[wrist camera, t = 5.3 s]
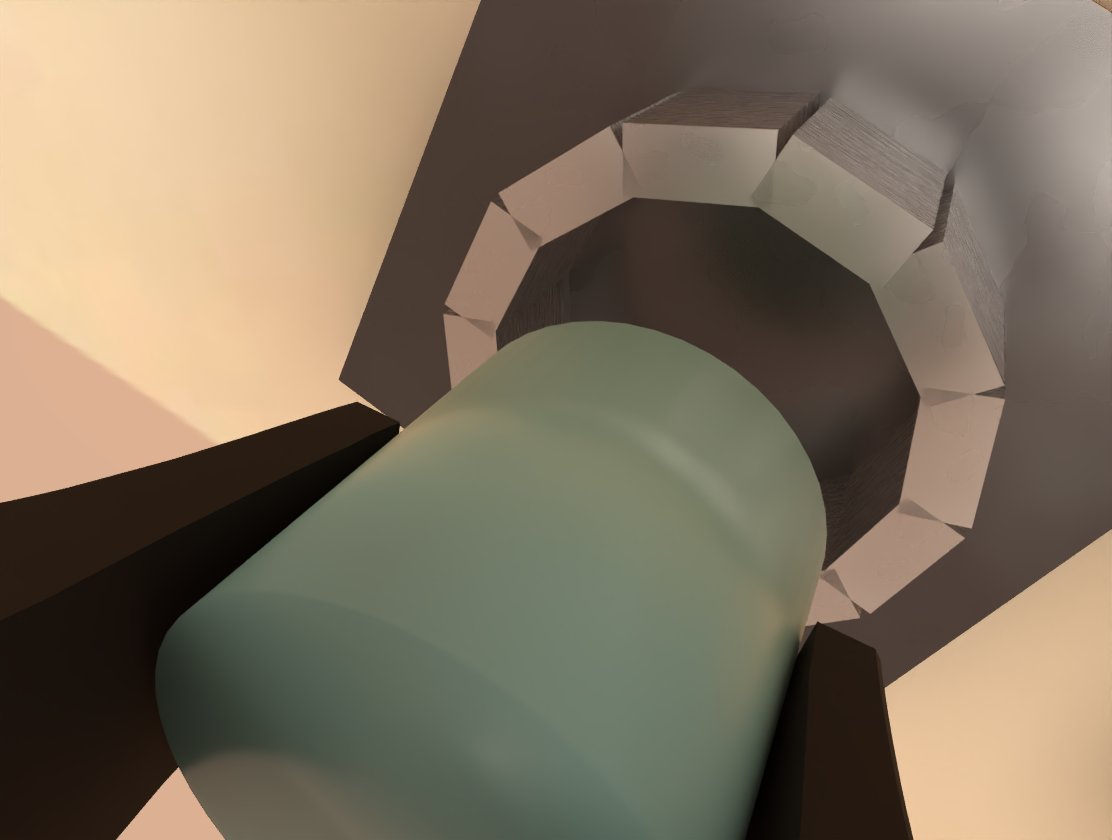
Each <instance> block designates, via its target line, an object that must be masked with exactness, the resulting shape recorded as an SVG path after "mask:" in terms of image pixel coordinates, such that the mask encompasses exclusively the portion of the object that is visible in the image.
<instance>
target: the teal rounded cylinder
mask: <svg viewBox="0 0 1112 840" xmlns="http://www.w3.org/2000/svg"><path fill="white" fill-rule="evenodd" d="M826 539H827V526H826V512H825V506H824V502H823V497H822V493H821V489H820V484H819V482H818V479H817V477H816V474H815V471H814V469H813V466H812V464H811V461H810V459H809V457H808V455H807V453H806V452H805V450H804V448H803V446H802V444H801V443H800V441H799V439H798V437H797V436H796V434H795V433H794V431H793V430H792V429H791V427H790V426H789V424H788V423H787V422H786V420H785V419H784V418H783V416H782V415H781V414H780V412H779V411H778V410H777V409H776V408H775V407H774V406H773V405H772V404H771V403H770V401H769V400H768V399H767V398H766V397H765V396H764V395H763V394H762V393H761V392H760V391H759V390H758V389H757V388H756V387H755V386H753V385H752V384H751V383H750V382H749V381H747V380H746V379H745V378H744V377H743V376H741V375H740V374H739V373H738V372H737V371H735V370H734V369H733V368H731V367H729V366H728V365H726V364H725V363H723V362H722V361H720V360H719V359H717V358H716V357H714V356H713V355H711V354H709V353H708V352H706V351H704V350H702V349H700V348H698V347H696V346H694V345H691V344H689V343H687V342H685V341H683V340H681V339H678V338H676V337H673V336H670V335H667V334H664V333H662V332H659V331H656V330H653V329H648V328H644V327H639V326H635V325H631V324H626V323H615V322H605V321H584V322H570V323H564V324H559V325H553V326H548V327H545V328H542V329H540V330H537V331H534V332H531V333H528V334H526V335H524V336H522V337H520V338H518V339H516V340H514V341H512V342H510V343H508V344H507V345H506V346H504V347H503V348H502V349H500V350H499V351H498V352H496V353H495V354H494V355H492V356H491V357H490V358H489V359H487V360H486V361H485V362H484V363H483V364H481V365H480V366H479V367H478V368H477V369H475V370H474V371H473V372H472V373H471V374H469V375H468V376H467V377H466V378H465V379H464V380H462V381H461V382H460V383H459V384H458V385H456V386H455V387H454V388H453V389H452V390H450V391H449V392H448V393H447V394H446V395H444V396H443V397H442V398H441V399H440V400H438V401H437V402H436V403H435V404H434V405H432V406H431V407H430V408H429V409H428V410H426V411H425V412H424V413H423V414H422V415H420V416H419V417H418V418H417V419H416V420H414V421H413V422H412V423H411V424H410V425H408V426H407V427H406V428H405V429H404V430H402V431H401V432H400V433H399V434H398V435H397V436H395V437H394V438H393V439H392V440H391V441H389V442H388V443H387V444H386V445H385V446H383V447H382V448H381V449H380V450H379V451H377V452H376V453H375V454H374V455H373V456H371V457H370V458H369V459H368V460H367V461H365V462H364V463H363V464H362V465H361V466H359V467H358V468H357V469H356V470H355V471H353V472H352V473H351V474H350V475H349V476H347V477H346V478H345V479H344V480H343V481H341V482H340V483H339V484H338V485H337V486H335V487H334V488H333V489H332V490H331V491H329V492H328V493H327V494H326V495H325V496H324V497H322V498H321V499H320V500H319V501H318V502H316V503H315V504H314V505H313V506H312V507H310V508H309V509H308V510H307V511H306V512H304V513H303V514H302V515H301V516H300V517H298V518H297V519H296V520H295V521H294V522H292V523H291V524H290V525H289V526H288V527H286V528H285V529H284V530H283V531H282V532H280V533H279V534H278V535H277V536H276V537H274V538H273V539H272V540H271V541H270V542H268V543H267V544H266V545H265V546H264V547H262V548H261V549H260V550H259V551H258V552H257V553H255V554H254V555H253V556H252V557H251V558H249V559H248V560H247V561H246V562H245V563H243V564H242V565H241V566H240V567H239V568H237V569H236V570H235V571H234V572H233V573H231V574H230V575H229V576H228V577H227V578H225V579H224V580H223V581H222V582H221V583H219V584H218V585H217V586H216V587H215V588H213V589H212V590H211V591H210V592H209V593H207V594H206V595H205V596H204V597H203V598H201V599H200V600H199V601H198V602H197V603H195V604H194V605H193V606H192V607H191V608H189V609H188V610H187V611H186V612H185V613H184V614H182V615H181V616H180V617H179V618H178V619H177V621H176V622H175V623H174V624H173V625H172V627H171V628H170V629H169V630H168V632H167V633H166V635H165V638H164V640H163V642H162V645H161V647H160V649H159V652H158V658H157V663H156V669H155V693H156V699H157V704H158V710H159V716H160V719H161V722H162V726H163V729H164V732H165V735H166V738H167V741H168V744H169V746H170V748H171V751H172V753H173V755H174V758H175V760H176V762H177V765H178V766H179V768H180V770H181V772H182V774H183V776H184V777H185V779H186V781H187V783H188V785H189V787H190V789H191V790H192V792H193V794H194V795H195V797H196V798H197V800H198V801H199V803H200V804H201V806H202V808H203V809H204V811H205V812H206V814H207V815H208V817H209V818H210V819H211V821H212V822H213V824H214V825H215V826H216V828H217V829H218V830H219V832H220V833H221V834H222V836H223V837H224V838H225V840H745V838H746V834H747V831H748V827H749V824H750V820H751V817H752V813H753V810H754V806H755V802H756V799H757V795H758V792H759V788H760V785H761V781H762V778H763V774H764V771H765V767H766V764H767V760H768V757H769V753H770V750H771V746H772V742H773V739H774V735H775V732H776V728H777V725H778V721H779V717H780V714H781V710H782V707H783V703H784V700H785V696H786V693H787V689H788V686H789V682H790V679H791V675H792V672H793V668H794V665H795V661H796V657H797V654H798V651H799V647H800V644H801V640H802V637H803V633H804V629H805V626H806V622H807V619H808V615H809V612H810V608H811V605H812V601H813V598H814V594H815V591H816V587H817V584H818V580H819V576H820V573H821V569H822V565H823V562H824V558H825V550H826Z"/></svg>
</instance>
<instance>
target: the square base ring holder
mask: <svg viewBox="0 0 1112 840" xmlns="http://www.w3.org/2000/svg"><path fill="white" fill-rule="evenodd" d="M584 321H605V322H615V323H626V324H631V325H635V326H639V327H644V328H648V329H653V330H656V331H659V332H662V333H664V334H667V335H670V336H673V337H676V338H678V339H681V340H683V341H685V342H687V343H689V344H691V345H694V346H696V347H698V348H700V349H702V350H704V351H706V352H708V353H709V354H711V355H713V356H714V357H716V358H717V359H719V360H720V361H722V362H723V363H725V364H726V365H728V366H729V367H731V368H733V369H734V370H735V371H737V372H738V373H739V374H740V375H741V376H743V377H744V378H745V379H746V380H747V381H749V382H750V383H751V384H752V385H753V386H755V387H756V388H757V389H758V390H759V391H760V392H761V393H762V394H763V395H764V396H765V397H766V398H767V399H768V400H769V401H770V403H771V404H772V405H773V406H774V407H775V408H776V409H777V410H778V411H779V412H780V414H781V415H782V416H783V418H784V419H785V420H786V422H787V423H788V424H789V426H790V427H791V429H792V430H793V431H794V433H795V434H796V436H797V437H798V439H799V441H800V443H801V444H802V446H803V448H804V450H805V452H806V453H807V455H808V457H809V459H810V461H811V464H812V466H813V469H814V471H815V474H816V477H817V479H818V482H819V484H820V489H821V493H822V497H823V502H824V506H825V512H826V526H827V539H826V550H825V558H824V562H823V565H822V569H821V573H820V576H819V580H818V584H817V587H816V591H815V594H814V598H813V601H812V605H811V608H810V612H809V615H808V619H807V622H806V626H805V629H804V633H803V637H802V640H801V644H800V647H799V651H798V653H799V652H800V650H801V648H802V647H803V645H804V643H805V641H806V640H807V638H808V636H809V635H810V633H811V631H812V630H813V628H814V626H815V624H816V623H817V621H818V622H820V623H822V624H824V625H826V626H829V627H831V628H833V629H835V630H837V631H839V632H841V633H843V634H845V635H847V636H849V637H852V638H854V639H856V640H858V641H860V642H862V643H864V644H866V645H868V646H870V647H873V648H875V649H876V651H877V653H878V656H879V658H880V660H881V666H882V675H883V682H884V688H885V687H887V686H888V685H890V684H891V683H892V682H894V681H895V680H897V679H898V678H899V677H901V676H902V675H904V674H905V673H907V672H908V671H909V670H911V669H912V668H914V667H915V666H917V665H918V664H919V663H921V662H922V661H924V660H925V659H927V658H928V657H929V656H931V655H932V654H934V653H935V652H937V651H938V650H939V649H941V648H942V647H944V646H945V645H947V644H948V643H949V642H951V641H952V640H954V639H955V638H957V637H958V636H959V635H961V634H962V633H964V632H965V631H967V630H968V629H969V628H971V627H972V626H974V625H975V624H977V623H978V622H979V621H981V620H982V619H984V618H985V617H987V616H988V615H989V614H991V613H992V612H994V611H995V610H996V609H998V608H999V607H1001V606H1002V605H1004V604H1005V603H1006V602H1008V601H1009V600H1011V599H1012V598H1014V597H1015V596H1016V595H1018V594H1019V593H1021V592H1022V591H1024V590H1025V589H1026V588H1028V587H1029V586H1031V585H1032V584H1034V583H1035V582H1036V581H1038V580H1039V579H1041V578H1042V577H1044V576H1045V575H1046V574H1048V573H1049V572H1051V571H1052V570H1054V569H1055V568H1056V567H1058V566H1059V565H1061V564H1062V563H1064V562H1065V561H1066V560H1068V559H1069V558H1071V557H1072V556H1074V555H1075V554H1076V553H1078V552H1079V551H1081V550H1082V549H1084V548H1085V547H1086V546H1088V545H1089V544H1091V543H1092V542H1093V541H1095V540H1096V539H1098V538H1099V537H1101V536H1102V535H1103V534H1105V533H1106V532H1108V531H1109V530H1111V529H1112V12H1111V11H1109V10H1108V9H1106V8H1105V7H1103V6H1101V5H1100V4H1098V3H1097V2H1095V1H1094V0H481V2H480V4H479V7H478V10H477V12H476V15H475V18H474V20H473V23H472V26H471V28H470V31H469V34H468V36H467V39H466V42H465V44H464V47H463V50H462V52H461V55H460V58H459V60H458V63H457V66H456V68H455V71H454V74H453V76H452V79H451V82H450V84H449V87H448V90H447V92H446V95H445V98H444V100H443V103H442V106H441V108H440V111H439V114H438V116H437V119H436V122H435V124H434V127H433V130H432V132H431V135H430V138H429V140H428V143H427V146H426V148H425V151H424V154H423V156H422V159H421V162H420V164H419V167H418V170H417V172H416V175H415V177H414V180H413V183H412V185H411V188H410V191H409V193H408V196H407V199H406V201H405V204H404V207H403V209H402V212H401V215H400V217H399V220H398V223H397V225H396V228H395V231H394V233H393V236H392V239H391V241H390V244H389V247H388V249H387V252H386V255H385V257H384V260H383V263H382V265H381V268H380V271H379V273H378V276H377V279H376V281H375V284H374V287H373V289H372V292H371V295H370V297H369V300H368V303H367V305H366V308H365V311H364V313H363V316H362V319H361V321H360V324H359V327H358V329H357V332H356V335H355V337H354V340H353V343H352V345H351V348H350V351H349V353H348V356H347V359H346V361H345V364H344V367H343V369H342V372H341V375H340V377H339V380H340V381H341V382H342V383H344V384H345V385H346V386H348V387H349V388H350V389H352V390H353V391H354V392H356V393H357V394H358V395H360V396H361V397H362V398H364V399H365V400H366V401H368V402H369V403H370V404H372V405H373V406H374V407H376V408H377V409H379V410H380V411H381V412H383V413H384V414H385V415H387V416H388V417H390V418H392V419H394V420H396V421H398V422H400V426H401V427H403V428H404V429H405V428H406V427H407V426H408V425H410V424H411V423H412V422H413V421H414V420H416V419H417V418H418V417H419V416H420V415H422V414H423V413H424V412H425V411H426V410H428V409H429V408H430V407H431V406H432V405H434V404H435V403H436V402H437V401H438V400H440V399H441V398H442V397H443V396H444V395H446V394H447V393H448V392H449V391H450V390H452V389H453V388H454V387H455V386H456V385H458V384H459V383H460V382H461V381H462V380H464V379H465V378H466V377H467V376H468V375H469V374H471V373H472V372H473V371H474V370H475V369H477V368H478V367H479V366H480V365H481V364H483V363H484V362H485V361H486V360H487V359H489V358H490V357H491V356H492V355H494V354H495V353H496V352H498V351H499V350H500V349H502V348H503V347H504V346H506V345H507V344H508V343H510V342H512V341H514V340H516V339H518V338H520V337H522V336H524V335H526V334H528V333H531V332H534V331H537V330H540V329H542V328H545V327H548V326H553V325H559V324H564V323H570V322H584ZM797 655H798V654H797Z"/></svg>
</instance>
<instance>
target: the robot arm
mask: <svg viewBox="0 0 1112 840" xmlns="http://www.w3.org/2000/svg"><path fill="white" fill-rule="evenodd" d="M399 428H400V422H398V421H396V420H394V419H392V418H390V417H388V416H386V415H384V414H382V413H380V412H378V411H375V410H373V409H371V408H369V407H367V406H365V405H363V404H361V403H359V402H355V403H351V404H348V405H344V406H340V407H337V408H334V409H330V410H327V411H324V412H321V413H318V414H314V415H311V416H308V417H305V418H302V419H299V420H296V421H293V422H290V423H286V424H283V425H280V426H277V427H274V428H271V429H268V430H265V431H262V432H259V433H256V434H253V435H249V436H246V437H243V438H240V439H237V440H233V441H230V442H227V443H224V444H221V445H217V446H214V447H211V448H208V449H205V450H201V451H198V452H195V453H192V454H189V455H185V456H182V457H179V458H176V459H172V460H169V461H165V462H161V463H158V464H154V465H150V466H147V467H143V468H139V469H136V470H132V471H128V472H124V473H121V474H117V475H114V476H110V477H106V478H102V479H99V480H95V481H91V482H88V483H84V484H80V485H76V486H73V487H69V488H65V489H60V490H56V491H52V492H48V493H44V494H40V495H35V496H30V497H26V498H22V499H17V500H12V501H7V502H2V503H0V840H116V839H117V838H118V836H119V835H120V834H121V833H122V832H123V831H124V829H125V828H126V827H127V826H128V825H129V824H130V822H131V821H132V820H133V819H134V818H135V816H136V815H137V814H138V813H139V812H140V810H141V809H142V808H143V807H144V806H145V805H146V803H147V802H148V801H149V800H150V799H151V797H152V796H153V795H154V794H155V793H156V792H157V790H158V789H159V788H160V787H161V786H162V784H163V783H164V782H165V781H166V780H167V779H168V778H169V777H170V776H171V775H172V773H173V772H174V771H175V770H176V769H177V768H178V767H179V766H178V765H177V762H176V760H175V758H174V755H173V753H172V751H171V748H170V746H169V744H168V741H167V738H166V735H165V732H164V729H163V726H162V722H161V719H160V716H159V710H158V704H157V699H156V693H155V669H156V663H157V658H158V652H159V649H160V647H161V645H162V642H163V640H164V638H165V635H166V633H167V632H168V630H169V629H170V628H171V627H172V625H173V624H174V623H175V622H176V621H177V619H178V618H179V617H180V616H181V615H182V614H184V613H185V612H186V611H187V610H188V609H189V608H191V607H192V606H193V605H194V604H195V603H197V602H198V601H199V600H200V599H201V598H203V597H204V596H205V595H206V594H207V593H209V592H210V591H211V590H212V589H213V588H215V587H216V586H217V585H218V584H219V583H221V582H222V581H223V580H224V579H225V578H227V577H228V576H229V575H230V574H231V573H233V572H234V571H235V570H236V569H237V568H239V567H240V566H241V565H242V564H243V563H245V562H246V561H247V560H248V559H249V558H251V557H252V556H253V555H254V554H255V553H257V552H258V551H259V550H260V549H261V548H262V547H264V546H265V545H266V544H267V543H268V542H270V541H271V540H272V539H273V538H274V537H276V536H277V535H278V534H279V533H280V532H282V531H283V530H284V529H285V528H286V527H288V526H289V525H290V524H291V523H292V522H294V521H295V520H296V519H297V518H298V517H300V516H301V515H302V514H303V513H304V512H306V511H307V510H308V509H309V508H310V507H312V506H313V505H314V504H315V503H316V502H318V501H319V500H320V499H321V498H322V497H324V496H325V495H326V494H327V493H328V492H329V491H331V490H332V489H333V488H334V487H335V486H337V485H338V484H339V483H340V482H341V481H343V480H344V479H345V478H346V477H347V476H349V475H350V474H351V473H352V472H353V471H355V470H356V469H357V468H358V467H359V466H361V465H362V464H363V463H364V462H365V461H367V460H368V459H369V458H370V457H371V456H373V455H374V454H375V453H376V452H377V451H379V450H380V449H381V448H382V447H383V446H385V445H386V444H387V443H388V442H389V441H391V440H392V439H393V438H394V437H395V436H397V435H398V434H399ZM745 840H913V836H912V831H911V827H910V823H909V819H908V815H907V810H906V806H905V801H904V796H903V791H902V787H901V782H900V777H899V772H898V766H897V761H896V756H895V750H894V745H893V740H892V734H891V728H890V722H889V716H888V710H887V703H886V697H885V689H884V682H883V675H882V666H881V660H880V658H879V656H878V653H877V651H876V649H875V648H873V647H870V646H868V645H866V644H864V643H862V642H860V641H858V640H856V639H854V638H852V637H849V636H847V635H845V634H843V633H841V632H839V631H837V630H835V629H833V628H831V627H829V626H826V625H824V624H822V623H820V622H818V621H817V623H816V624H815V626H814V628H813V630H812V631H811V633H810V635H809V636H808V638H807V640H806V641H805V643H804V645H803V647H802V648H801V650H800V652H799V653H798V655H797V657H796V661H795V665H794V668H793V672H792V675H791V679H790V682H789V686H788V689H787V693H786V696H785V700H784V703H783V707H782V710H781V714H780V717H779V721H778V725H777V728H776V732H775V735H774V739H773V742H772V746H771V750H770V753H769V757H768V760H767V764H766V767H765V771H764V774H763V778H762V781H761V785H760V788H759V792H758V795H757V799H756V802H755V806H754V810H753V813H752V817H751V820H750V824H749V827H748V831H747V834H746V838H745Z"/></svg>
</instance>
